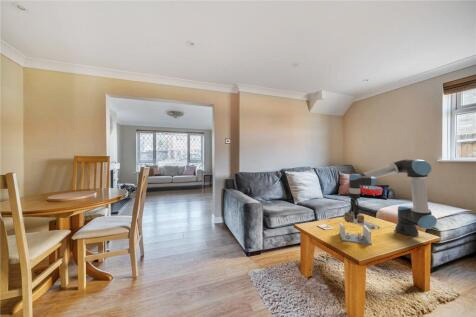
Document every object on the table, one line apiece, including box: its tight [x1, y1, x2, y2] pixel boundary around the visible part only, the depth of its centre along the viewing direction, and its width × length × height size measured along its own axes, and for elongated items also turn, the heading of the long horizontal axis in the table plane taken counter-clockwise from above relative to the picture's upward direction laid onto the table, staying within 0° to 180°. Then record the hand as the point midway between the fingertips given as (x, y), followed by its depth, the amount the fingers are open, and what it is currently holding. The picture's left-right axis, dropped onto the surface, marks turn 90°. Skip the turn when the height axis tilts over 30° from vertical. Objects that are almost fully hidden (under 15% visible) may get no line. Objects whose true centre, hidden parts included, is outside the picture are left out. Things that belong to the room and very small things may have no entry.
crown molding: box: [342, 215, 381, 230], centre depth 184 cm, size 31×12×4 cm, turn 15°
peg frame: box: [338, 222, 373, 246], centre depth 149 cm, size 20×14×10 cm
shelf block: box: [343, 212, 365, 224], centre depth 149 cm, size 12×6×6 cm, turn 79°
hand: (354, 221), depth 149 cm, fingers closed on shelf block, 6 cm apart
